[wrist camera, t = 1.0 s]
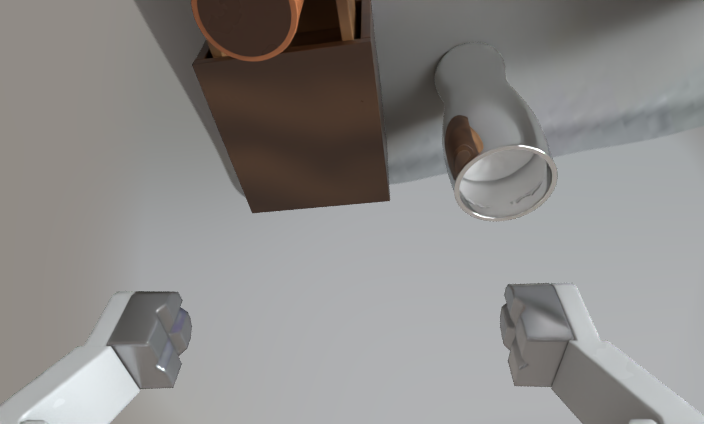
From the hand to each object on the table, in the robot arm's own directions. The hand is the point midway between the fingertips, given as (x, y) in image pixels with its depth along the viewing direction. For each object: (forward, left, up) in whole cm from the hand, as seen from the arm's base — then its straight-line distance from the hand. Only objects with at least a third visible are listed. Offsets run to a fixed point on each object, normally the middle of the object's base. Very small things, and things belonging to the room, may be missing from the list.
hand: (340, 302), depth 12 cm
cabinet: (+12, -1, -31) cm, 34 cm away
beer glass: (+7, +12, -32) cm, 35 cm away
